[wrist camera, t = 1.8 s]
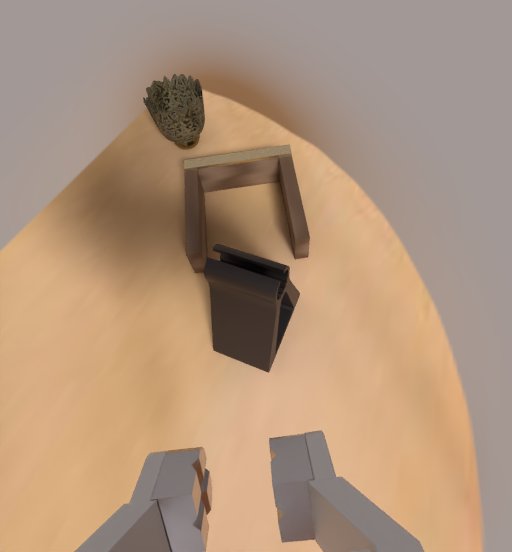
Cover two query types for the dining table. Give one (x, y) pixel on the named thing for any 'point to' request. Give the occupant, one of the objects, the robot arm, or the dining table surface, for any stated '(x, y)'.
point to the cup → (177, 109)
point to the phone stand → (249, 305)
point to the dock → (235, 174)
